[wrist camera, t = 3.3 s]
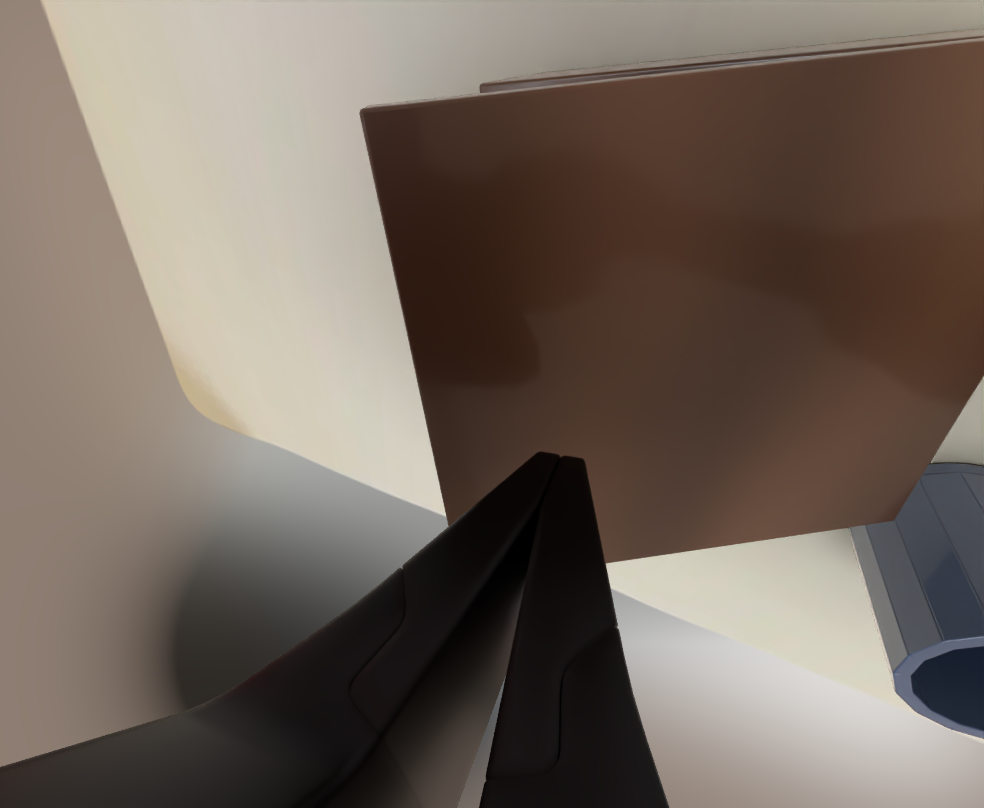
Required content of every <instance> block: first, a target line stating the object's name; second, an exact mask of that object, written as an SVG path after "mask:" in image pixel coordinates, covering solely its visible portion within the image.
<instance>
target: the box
mask: <svg viewBox="0 0 984 808" xmlns="http://www.w3.org/2000/svg"><path fill="white" fill-rule="evenodd" d="M976 38H984V28H982V29H972V30H962V31H952V32H942V33H932V34H922V35H912V36H902V37H892V38H882V39H872V40H862V41H852V42H842V43H832V44H822V45H812V46H802V47H792V48H782V49H772V50H762V51H752V52H742V53H732V54H722V55H712V56H702V57H692V58H682V59H672V60H662V61H652V62H642V63H632V64H622V65H612V66H602V67H592V68H583V69H573V70H563V71H553V72H543V73H537V74H531V75H525V76H520V77H514V78H509V79H503V80H498V81H492V82H487V83H482V84H481V85H480V93H487V92H496V91H505V90H514V89H523V88H533V87H542V86H551V85H560V84H569V83H578V82H587V81H596V80H605V79H614V78H623V77H632V76H641V75H650V74H659V73H668V72H677V71H686V70H695V69H704V68H713V67H722V66H731V65H741V64H750V63H759V62H768V61H777V60H786V59H795V58H804V57H813V56H822V55H831V54H840V53H849V52H858V51H867V50H876V49H885V48H894V47H903V46H912V45H921V44H930V43H939V42H948V41H958V40H967V39H976Z"/></svg>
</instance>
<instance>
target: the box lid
mask: <svg viewBox="0 0 984 808" xmlns="http://www.w3.org/2000/svg"><path fill="white" fill-rule="evenodd" d="M360 118H361V123H362V128H363V132H364V137H365V141H366V146H367V151H368V155H369V160H370V165H371V169H372V174H373V178H374V183H375V188H376V192H377V197H378V202H379V206H380V211H381V216H382V220H383V225H384V229H385V234H386V239H387V243H388V248H389V253H390V257H391V262H392V266H393V271H394V276H395V280H396V285H397V290H398V294H399V299H400V303H401V308H402V313H403V317H404V322H405V327H406V331H407V336H408V341H409V345H410V350H411V354H412V359H413V364H414V368H415V373H416V378H417V382H418V387H419V391H420V396H421V401H422V405H423V410H424V415H425V419H426V424H427V429H428V433H429V438H430V442H431V447H432V452H433V456H434V461H435V466H436V470H437V475H438V479H439V484H440V489H441V493H442V498H443V503H444V507H445V512H446V517H447V521H448V526H450V525H451V524H452V523H454V522H455V521H456V520H457V519H458V518H460V517H461V516H462V515H463V514H464V513H466V512H467V511H468V510H469V509H470V508H472V507H473V506H474V505H475V504H476V503H477V502H479V501H480V500H481V499H482V498H483V497H485V496H486V495H487V494H488V493H489V492H491V491H492V490H493V489H494V488H495V487H497V486H498V485H499V484H500V483H501V482H503V481H504V480H505V479H506V478H507V477H508V476H510V475H511V474H512V473H513V472H514V471H516V470H517V469H518V468H519V467H520V466H522V465H523V464H524V463H525V462H526V461H528V460H529V459H530V458H531V457H532V456H534V455H535V454H536V453H537V452H540V451H543V452H549V453H555V454H559V455H560V456H561V457H562V456H564V455H567V456H573V457H579V458H583V459H584V460H585V463H586V468H587V473H588V478H589V483H590V488H591V493H592V498H593V503H594V508H595V513H596V518H597V523H598V528H599V533H600V538H601V543H602V548H603V553H604V558H605V563H611V562H618V561H625V560H632V559H639V558H645V557H652V556H659V555H666V554H673V553H679V552H686V551H693V550H700V549H707V548H713V547H720V546H727V545H734V544H741V543H747V542H754V541H761V540H768V539H775V538H781V537H788V536H795V535H802V534H809V533H815V532H822V531H829V530H836V529H843V528H849V527H856V526H863V525H870V524H877V523H883V522H890V521H894V520H895V518H896V516H897V515H898V513H899V512H900V510H901V508H902V507H903V505H904V504H905V502H906V500H907V499H908V497H909V495H910V494H911V492H912V491H913V489H914V487H915V486H916V484H917V483H918V481H919V479H920V478H921V476H922V475H923V473H924V471H925V470H926V468H927V466H928V465H929V463H930V462H931V460H932V458H933V457H934V455H935V454H936V452H937V450H938V449H939V447H940V446H941V444H942V442H943V441H944V439H945V437H946V436H947V434H948V433H949V431H950V429H951V428H952V426H953V425H954V423H955V421H956V420H957V418H958V417H959V415H960V413H961V412H962V410H963V408H964V407H965V405H966V404H967V402H968V400H969V399H970V397H971V396H972V394H973V392H974V391H975V389H976V388H977V386H978V384H979V383H980V381H981V379H982V378H983V376H984V38H976V39H967V40H958V41H948V42H939V43H930V44H921V45H912V46H903V47H894V48H885V49H876V50H867V51H858V52H849V53H840V54H831V55H822V56H813V57H804V58H795V59H786V60H777V61H768V62H759V63H750V64H741V65H731V66H722V67H713V68H704V69H695V70H686V71H677V72H668V73H659V74H650V75H641V76H632V77H623V78H614V79H605V80H596V81H587V82H578V83H569V84H560V85H551V86H542V87H533V88H523V89H514V90H505V91H496V92H487V93H478V94H469V95H460V96H451V97H442V98H433V99H424V100H415V101H406V102H397V103H388V104H379V105H370V106H366V107H365V108H363V109H361V110H360Z"/></svg>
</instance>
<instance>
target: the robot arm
mask: <svg viewBox="0 0 984 808" xmlns="http://www.w3.org/2000/svg"><path fill="white" fill-rule="evenodd" d="M617 626H618V623H617V619H616V614H615V609H614V603H613V598H612V593H611V588H610V583H609V578H608V573H607V568H606V563H605V558H604V553H603V548H602V543H601V538H600V533H599V528H598V523H597V518H596V513H595V508H594V503H593V498H592V493H591V488H590V483H589V478H588V473H587V468H586V463H585V460H584V459H583V458H579V457H573V456H567V455H564V456H562V457H561V456H560V455H559V454H555V453H549V452H543V451H540V452H537V453H536V454H535V455H534V456H532V457H531V458H530V459H529V460H528V461H526V462H525V463H524V464H523V465H522V466H520V467H519V468H518V469H517V470H516V471H514V472H513V473H512V474H511V475H510V476H508V477H507V478H506V479H505V480H504V481H503V482H501V483H500V484H499V485H498V486H497V487H495V488H494V489H493V490H492V491H491V492H489V493H488V494H487V495H486V496H485V497H483V498H482V499H481V500H480V501H479V502H477V503H476V504H475V505H474V506H473V507H472V508H470V509H469V510H468V511H467V512H466V513H464V514H463V515H462V516H461V517H460V518H458V519H457V520H456V521H455V522H454V523H452V524H451V525H450V526H449V527H448V528H446V529H445V530H444V531H443V532H442V533H440V534H439V535H438V536H437V537H436V538H435V539H433V540H432V541H431V542H430V543H429V544H427V545H426V546H425V547H424V548H423V549H421V550H420V551H419V552H418V553H417V554H415V556H413V557H412V558H411V559H409V560H408V561H407V562H406V563H405V564H404V565H403V569H401V568H399V569H397V570H396V571H395V572H394V573H393V574H391V575H390V576H389V577H388V578H387V579H386V580H384V581H383V582H382V583H381V584H379V585H378V586H377V587H376V588H374V589H373V590H372V591H370V592H369V593H368V594H367V595H365V596H364V597H363V598H362V599H360V600H359V601H358V602H357V603H355V604H354V605H353V606H351V607H350V608H349V609H347V610H346V611H344V612H343V613H342V614H340V615H339V616H337V617H336V618H335V619H333V620H332V621H331V622H329V623H328V624H326V625H325V626H324V627H322V628H321V629H319V630H318V631H316V632H315V633H314V634H312V635H311V636H309V637H308V638H306V639H305V640H303V641H302V642H301V643H299V644H298V645H296V646H295V647H293V648H292V649H290V650H289V651H287V652H286V653H284V654H283V655H282V656H280V657H279V658H277V659H276V660H274V661H273V662H271V663H270V664H269V665H267V666H266V667H264V668H263V669H261V670H260V671H258V672H257V673H255V674H254V675H253V676H251V677H250V678H248V679H247V680H245V681H244V682H242V683H241V684H239V685H237V686H236V687H234V688H233V689H231V690H229V691H228V692H226V693H224V694H222V695H221V696H219V697H216V698H215V699H212V700H210V701H208V702H206V703H204V704H202V705H199V706H197V707H195V708H192V709H190V710H187V711H184V712H181V713H178V714H175V715H171V716H168V717H165V718H161V719H158V720H155V721H151V722H148V723H145V724H142V725H138V726H135V727H132V728H129V729H125V730H122V731H118V732H115V733H112V734H108V735H105V736H102V737H98V738H95V739H92V740H89V741H85V742H82V743H79V744H75V745H72V746H69V747H65V748H62V749H59V750H55V751H52V752H49V753H46V754H42V755H39V756H35V757H32V758H29V759H26V760H22V761H19V762H16V763H12V764H9V765H6V766H2V767H0V808H457V806H458V803H459V801H460V798H461V795H462V792H463V790H464V787H465V784H466V781H467V779H468V776H469V773H470V771H471V768H472V765H473V763H474V760H475V757H476V754H477V752H478V749H479V746H480V743H481V741H482V738H483V735H484V732H485V730H486V727H487V724H488V722H489V719H490V716H491V714H492V711H493V708H494V705H495V703H496V700H497V697H498V695H499V692H500V689H501V686H502V684H503V681H504V678H505V676H506V678H505V683H504V689H503V693H502V698H501V703H500V708H499V713H498V718H497V723H496V727H495V732H494V737H493V742H492V747H491V752H490V757H489V762H488V767H487V772H486V782H485V784H484V787H483V792H482V797H481V801H480V806H479V808H669V805H668V802H667V799H666V796H665V793H664V790H663V787H662V784H661V781H660V778H659V775H658V772H657V769H656V766H655V763H654V760H653V757H652V754H651V751H650V748H649V745H648V742H647V738H646V735H645V732H644V729H643V725H642V722H641V719H640V715H639V712H638V709H637V705H636V702H635V698H634V695H633V691H632V687H631V683H630V678H629V674H628V670H627V666H626V661H625V657H624V653H623V648H622V642H621V637H620V632H619V629H618V628H617Z"/></svg>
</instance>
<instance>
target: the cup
mask: <svg viewBox="0 0 984 808" xmlns="http://www.w3.org/2000/svg"><path fill="white" fill-rule="evenodd" d="M848 529H849V532H850V537H851V542H852V545H853V549H854V552H855V556H856V559H857V563H858V566H859V569H860V573H861V576H862V580H863V583H864V586H865V590H866V593H867V597H868V600H869V604H870V607H871V610H872V614H873V617H874V621H875V624H876V628H877V631H878V634H879V638H880V641H881V645H882V648H883V652H884V655H885V658H886V662H887V665H888V669H889V672H890V675H891V679H892V682H893V686H894V689H895V692H896V693H897V694H898V695H899V696H900V697H901V698H902V699H903V700H904V701H905V702H906V703H907V704H908V705H909V706H910V707H911V708H912V709H913V710H914V711H915V712H917V713H918V714H920V715H922V716H924V717H926V718H928V719H930V720H933V721H935V722H937V723H939V724H941V725H943V726H945V727H947V728H949V729H951V730H955V731H958V732H962V733H965V734H969V735H972V736H976V737H979V738H983V739H984V466H978V465H971V464H961V463H940V464H929V465H928V466H927V468H926V470H925V471H924V473H923V475H922V476H921V478H920V479H919V481H918V483H917V484H916V486H915V487H914V489H913V491H912V492H911V494H910V495H909V497H908V499H907V500H906V502H905V504H904V505H903V507H902V508H901V510H900V512H899V513H898V515H897V516H896V518H895V520H894V521H890V522H883V523H877V524H870V525H863V526H856V527H849V528H848Z"/></svg>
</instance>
